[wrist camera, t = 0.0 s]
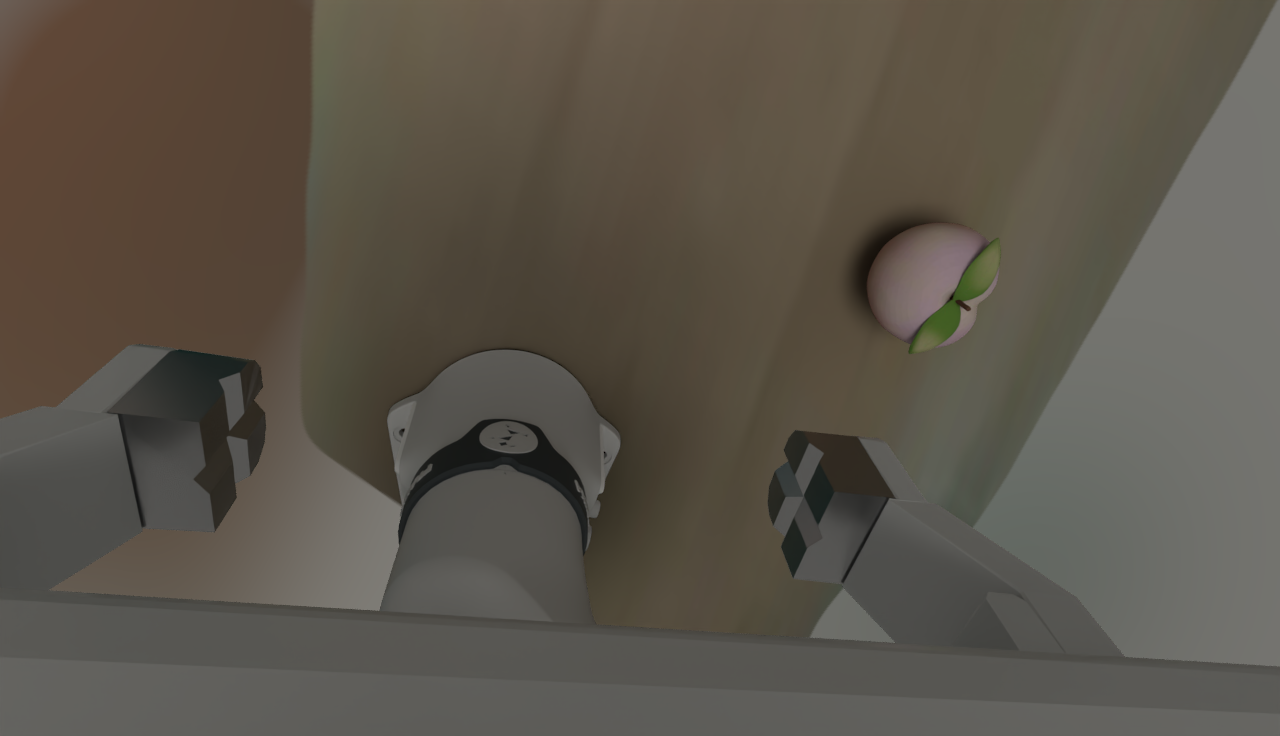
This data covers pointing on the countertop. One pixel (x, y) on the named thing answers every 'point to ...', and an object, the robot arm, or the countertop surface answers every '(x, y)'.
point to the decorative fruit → (932, 283)
